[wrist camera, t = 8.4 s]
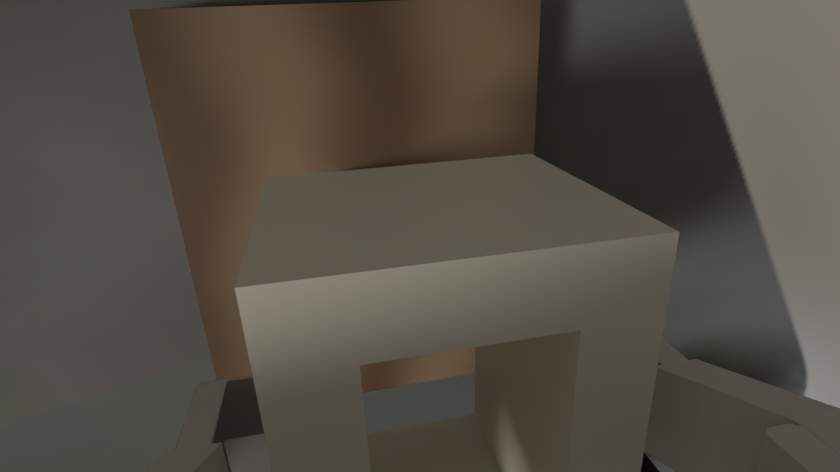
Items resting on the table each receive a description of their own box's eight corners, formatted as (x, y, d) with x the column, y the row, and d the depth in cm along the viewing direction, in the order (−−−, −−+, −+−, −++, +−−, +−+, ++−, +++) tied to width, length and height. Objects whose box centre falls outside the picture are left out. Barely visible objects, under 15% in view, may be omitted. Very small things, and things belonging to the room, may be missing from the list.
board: (232, 382, 21) (225, 416, 19) (149, 12, 16) (129, 9, 14) (507, 339, 23) (524, 364, 21) (517, -1, 18) (541, -5, 16)
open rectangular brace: (267, 177, 9) (232, 296, 5) (530, 153, 10) (691, 237, 6) (316, 481, 12) (320, 722, 8) (519, 442, 13) (622, 640, 9)
